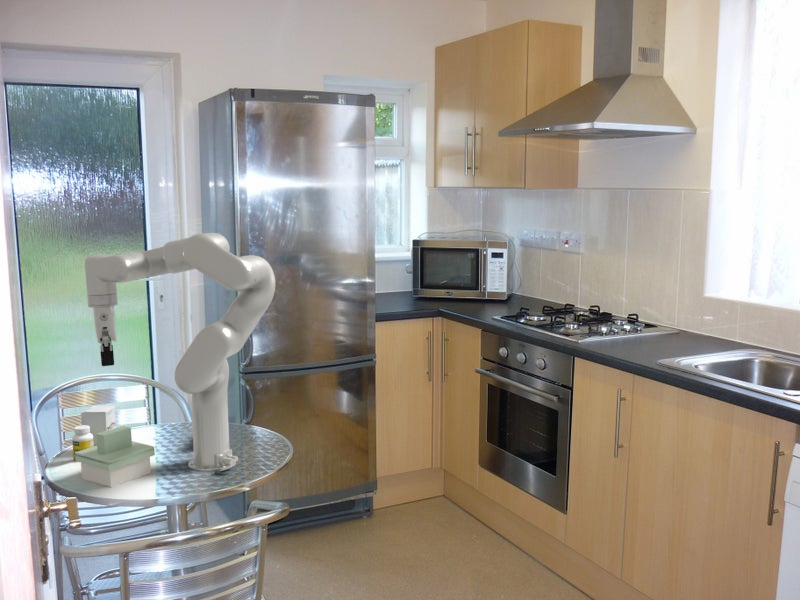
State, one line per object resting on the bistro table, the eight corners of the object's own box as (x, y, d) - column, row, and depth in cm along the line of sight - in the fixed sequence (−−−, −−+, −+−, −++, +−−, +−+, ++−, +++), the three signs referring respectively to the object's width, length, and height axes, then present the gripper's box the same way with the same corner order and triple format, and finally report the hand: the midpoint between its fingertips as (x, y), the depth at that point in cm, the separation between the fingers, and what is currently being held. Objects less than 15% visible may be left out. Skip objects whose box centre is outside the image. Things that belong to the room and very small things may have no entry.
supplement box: (108, 454, 217) (105, 411, 215) (82, 455, 217) (79, 412, 215) (118, 446, 224) (115, 405, 222) (93, 447, 224) (90, 405, 223)
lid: (154, 455, 199) (153, 428, 198) (108, 470, 187) (107, 441, 186) (121, 446, 206) (119, 420, 205) (75, 461, 195) (73, 433, 194)
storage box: (150, 475, 199) (149, 449, 198) (111, 490, 189) (109, 463, 188) (122, 467, 206) (120, 442, 205) (82, 481, 196) (80, 455, 195)
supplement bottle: (70, 464, 209) (67, 429, 208) (79, 457, 214) (76, 424, 213) (89, 464, 209) (87, 429, 208) (98, 457, 214) (95, 424, 213)
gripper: (118, 302, 200) (123, 366, 202) (116, 296, 216) (121, 356, 218) (87, 305, 197) (92, 369, 199) (88, 298, 213) (93, 358, 215)
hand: (107, 362), depth 208 cm, fingers open, 9 cm apart
